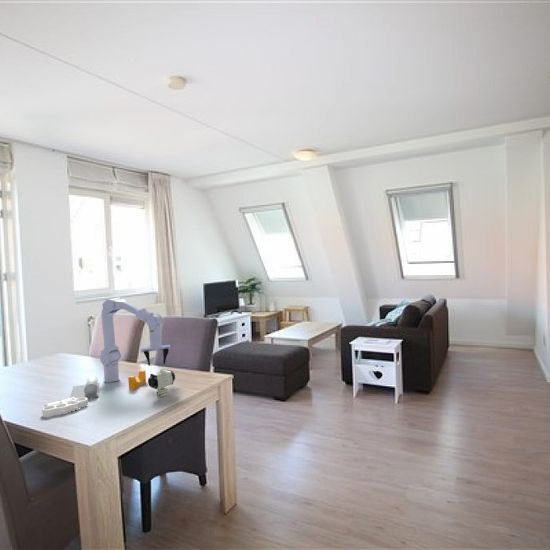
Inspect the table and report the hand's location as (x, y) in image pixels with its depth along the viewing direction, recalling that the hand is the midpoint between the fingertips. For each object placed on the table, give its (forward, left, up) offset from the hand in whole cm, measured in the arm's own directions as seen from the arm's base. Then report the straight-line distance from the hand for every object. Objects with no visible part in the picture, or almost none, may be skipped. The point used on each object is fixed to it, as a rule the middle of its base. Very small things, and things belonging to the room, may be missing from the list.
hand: (156, 364), depth 209 cm
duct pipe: (0, -34, -9) cm, 35 cm away
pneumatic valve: (+23, 0, -10) cm, 25 cm away
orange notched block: (0, -11, -10) cm, 14 cm away
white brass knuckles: (+20, -41, -10) cm, 47 cm away
